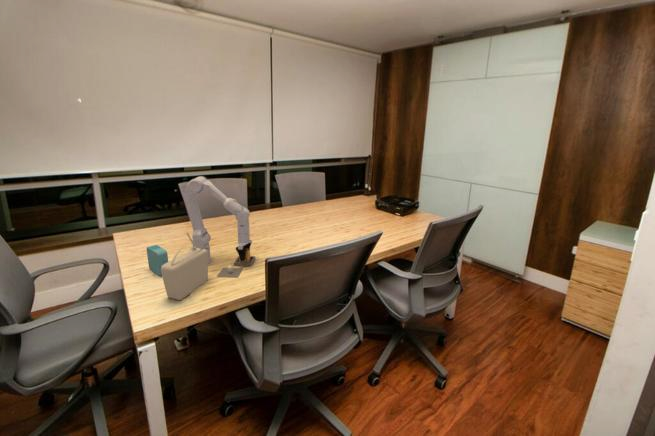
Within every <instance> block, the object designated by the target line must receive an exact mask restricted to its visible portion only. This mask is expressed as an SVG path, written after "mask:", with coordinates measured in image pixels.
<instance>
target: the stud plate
mask: <svg viewBox="0 0 655 436" xmlns="http://www.w3.org/2000/svg"><path fill="white" fill-rule="evenodd" d="M243 269H244V268H240V267H239V268H238V267H237V268H236V267H233V265H227V267H222V268H221V269H220V271H219V272H218V274H217V275H216V278H227V279H228V278H229V279H230V278H232V279H233V278H235V279H239V276H240V275H241V273H242V272H243Z"/></svg>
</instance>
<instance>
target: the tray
mask: <svg viewBox="0 0 655 436" xmlns="http://www.w3.org/2000/svg"><path fill="white" fill-rule="evenodd" d="M255 261H256V256H254V255H253V256H251V255H250V263H247V262H246V263H244V262H239V255H238V256H237V258H236V259H235V260H234V261H233V266H234V267H253V265H254V263H255Z"/></svg>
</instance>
